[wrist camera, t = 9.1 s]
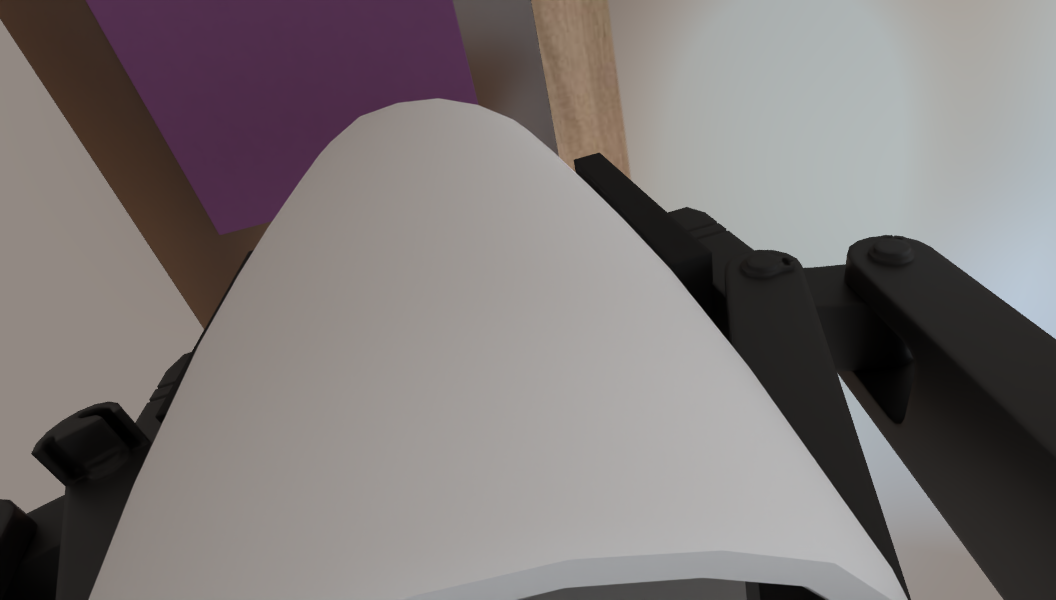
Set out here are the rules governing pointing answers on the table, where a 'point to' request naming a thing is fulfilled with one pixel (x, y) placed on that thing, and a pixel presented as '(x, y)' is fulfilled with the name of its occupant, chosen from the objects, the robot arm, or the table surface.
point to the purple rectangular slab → (276, 83)
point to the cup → (472, 404)
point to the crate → (151, 168)
